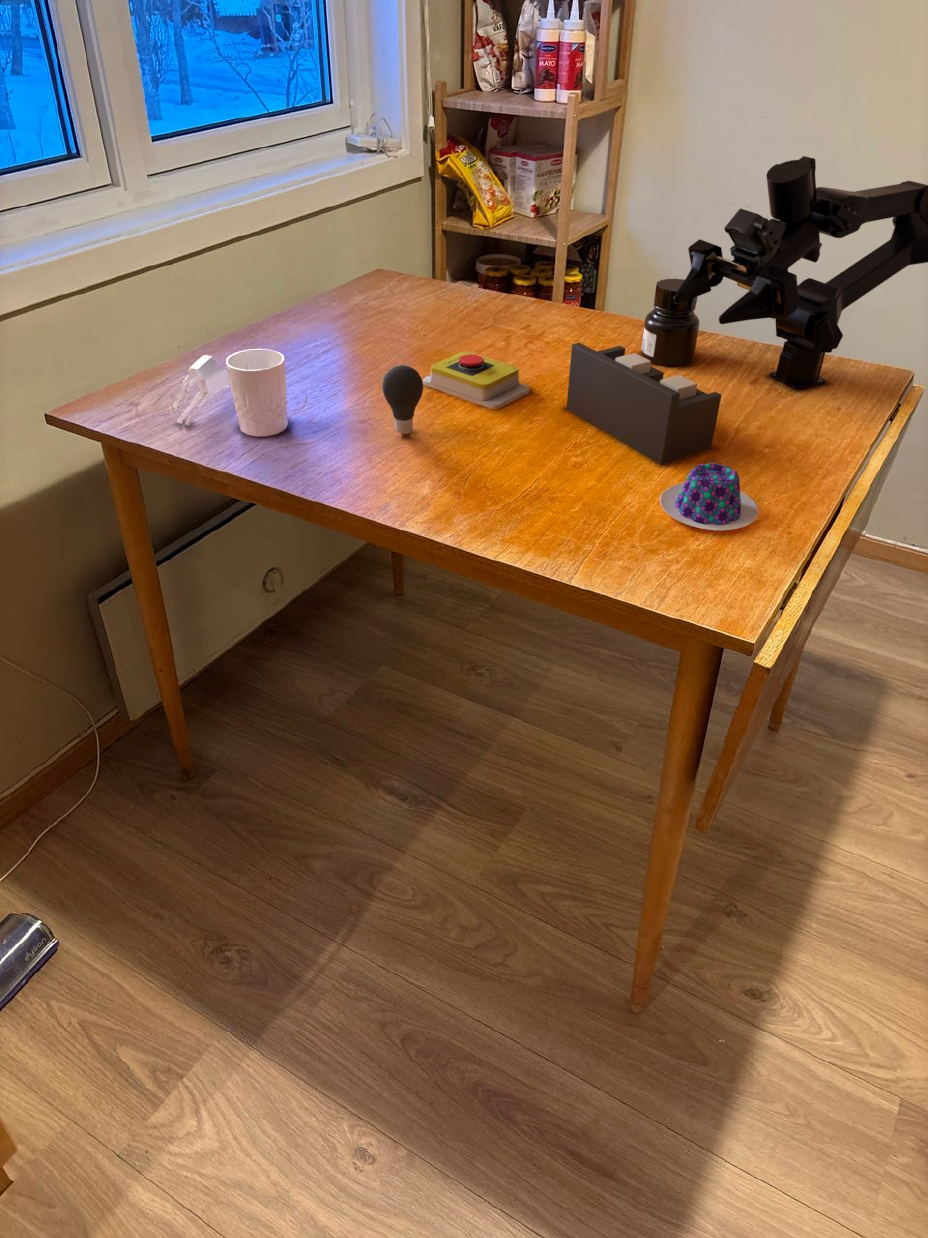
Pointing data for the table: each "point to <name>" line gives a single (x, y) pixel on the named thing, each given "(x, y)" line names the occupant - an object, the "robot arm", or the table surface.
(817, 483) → the table surface
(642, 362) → the key
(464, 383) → the emergency button
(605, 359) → the black hollow block
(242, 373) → the white cup
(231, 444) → the table surface
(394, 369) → the light bulb
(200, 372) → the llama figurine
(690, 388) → the key
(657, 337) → the ink bottle
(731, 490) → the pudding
